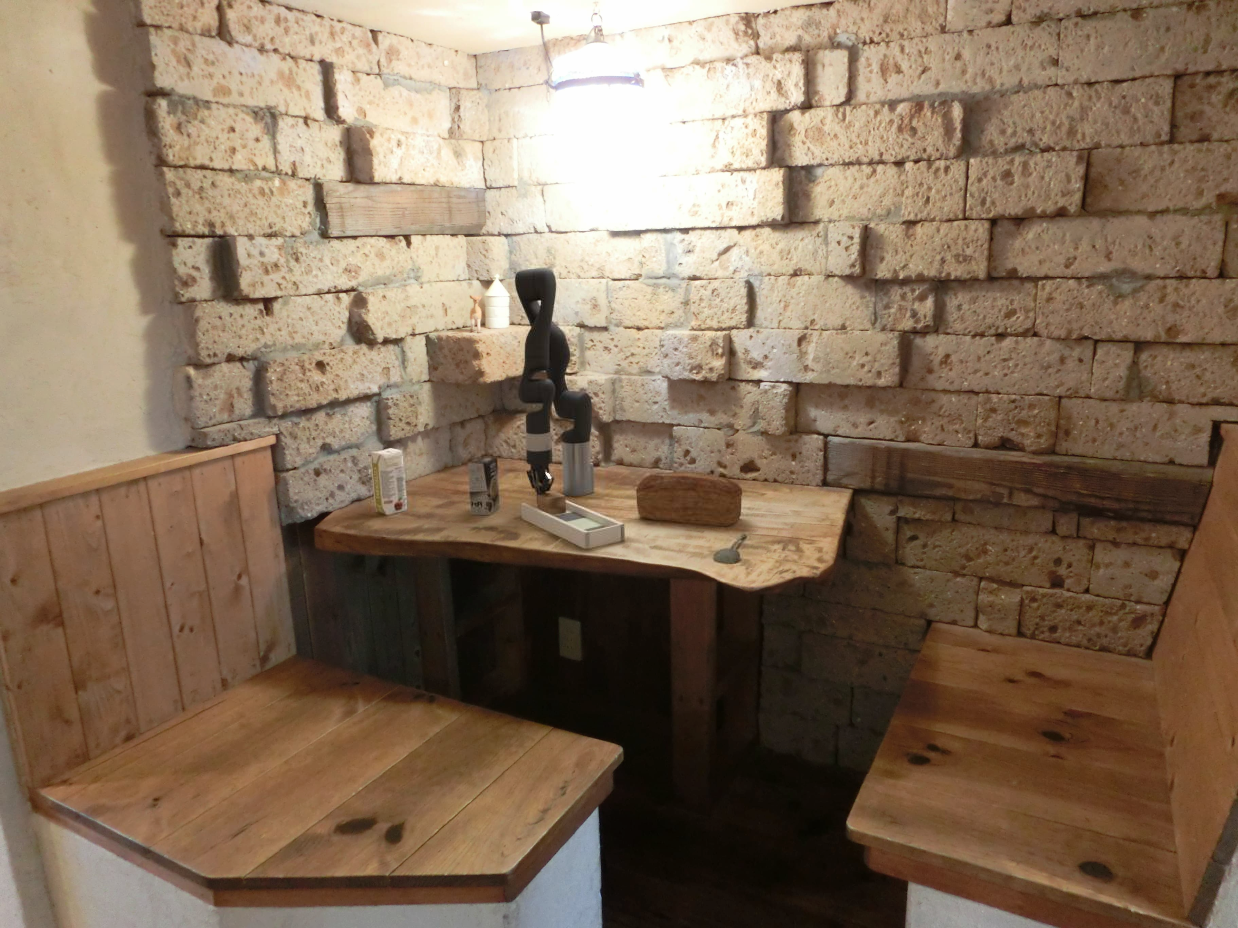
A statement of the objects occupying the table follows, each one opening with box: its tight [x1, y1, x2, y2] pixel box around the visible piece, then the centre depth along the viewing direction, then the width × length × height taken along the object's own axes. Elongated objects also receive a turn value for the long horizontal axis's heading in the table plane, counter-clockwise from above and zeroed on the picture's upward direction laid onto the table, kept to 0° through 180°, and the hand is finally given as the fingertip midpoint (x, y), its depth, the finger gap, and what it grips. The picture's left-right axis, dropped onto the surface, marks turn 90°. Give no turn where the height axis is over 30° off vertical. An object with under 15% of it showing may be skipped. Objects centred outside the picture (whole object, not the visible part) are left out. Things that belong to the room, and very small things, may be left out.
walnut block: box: [536, 491, 567, 515], centre depth 247 cm, size 6×6×5 cm
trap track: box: [520, 499, 626, 550], centre depth 239 cm, size 12×35×4 cm, turn 35°
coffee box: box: [467, 456, 501, 516], centre depth 257 cm, size 9×6×16 cm
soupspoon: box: [712, 532, 748, 565], centre depth 219 cm, size 22×3×7 cm
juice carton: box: [370, 447, 408, 516], centre depth 258 cm, size 8×9×19 cm
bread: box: [635, 471, 743, 527], centre depth 245 cm, size 12×31×14 cm, turn 69°
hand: (541, 504), depth 251 cm, fingers closed
